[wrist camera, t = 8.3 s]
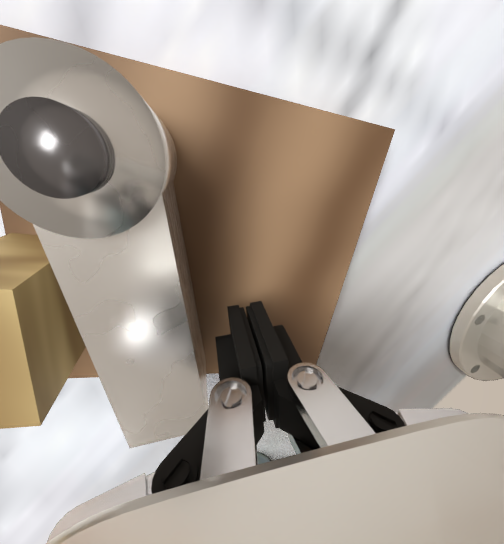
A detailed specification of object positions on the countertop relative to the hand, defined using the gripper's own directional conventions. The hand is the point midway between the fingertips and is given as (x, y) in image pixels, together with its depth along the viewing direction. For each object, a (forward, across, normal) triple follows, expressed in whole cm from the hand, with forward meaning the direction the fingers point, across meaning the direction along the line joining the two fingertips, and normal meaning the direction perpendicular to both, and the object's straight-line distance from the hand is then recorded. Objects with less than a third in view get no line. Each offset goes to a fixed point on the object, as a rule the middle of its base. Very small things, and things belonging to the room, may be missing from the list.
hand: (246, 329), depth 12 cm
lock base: (+3, +2, -3) cm, 5 cm away
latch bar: (+1, +4, -4) cm, 5 cm away
